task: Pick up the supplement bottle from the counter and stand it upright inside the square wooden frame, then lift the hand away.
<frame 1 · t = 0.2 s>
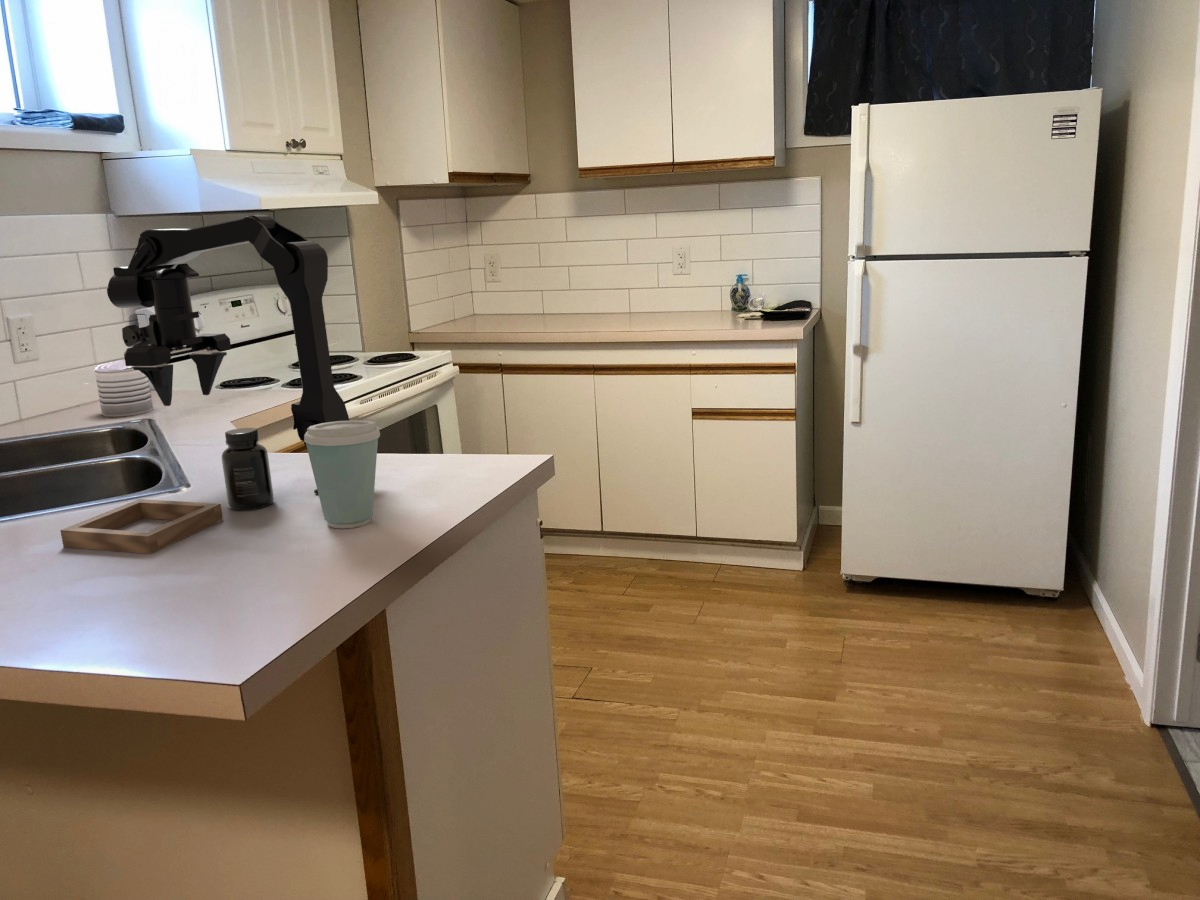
hand: (187, 400, 164), 14 cm above the countertop, fingers open, 9 cm apart
square wooden frame: (145, 532, 142), on the countertop
disposable coffee cup: (352, 523, 143), on the countertop
supplement bottle: (251, 506, 154), on the countertop
white ridged cylinder: (128, 412, 236), on the countertop
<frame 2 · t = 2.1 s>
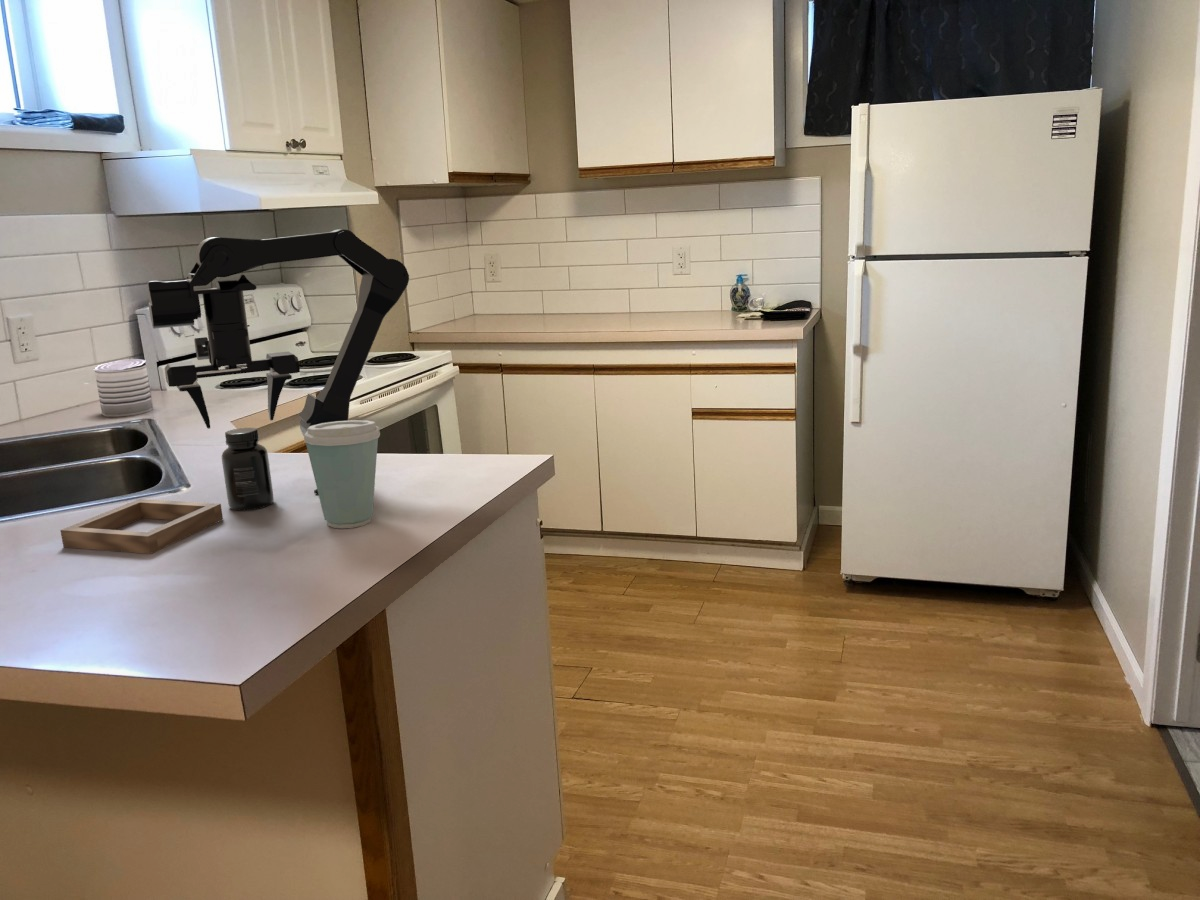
hand: (240, 424, 150), 13 cm above the countertop, fingers open, 9 cm apart
nothing on the countertop moved.
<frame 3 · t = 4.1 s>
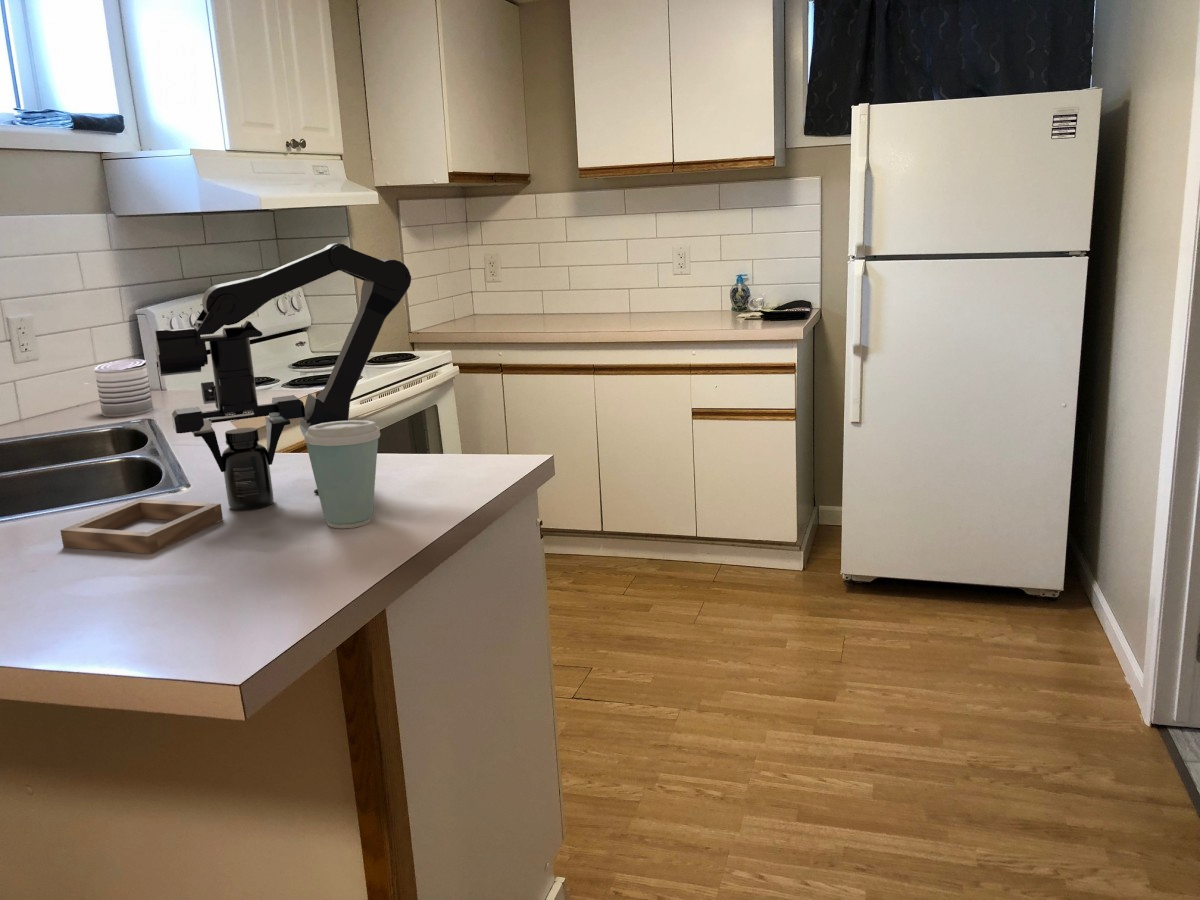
hand: (246, 467, 152), 6 cm above the countertop, fingers closed on supplement bottle, 7 cm apart
supplement bottle: (251, 506, 154), on the countertop, touching gripper
everything else where it was.
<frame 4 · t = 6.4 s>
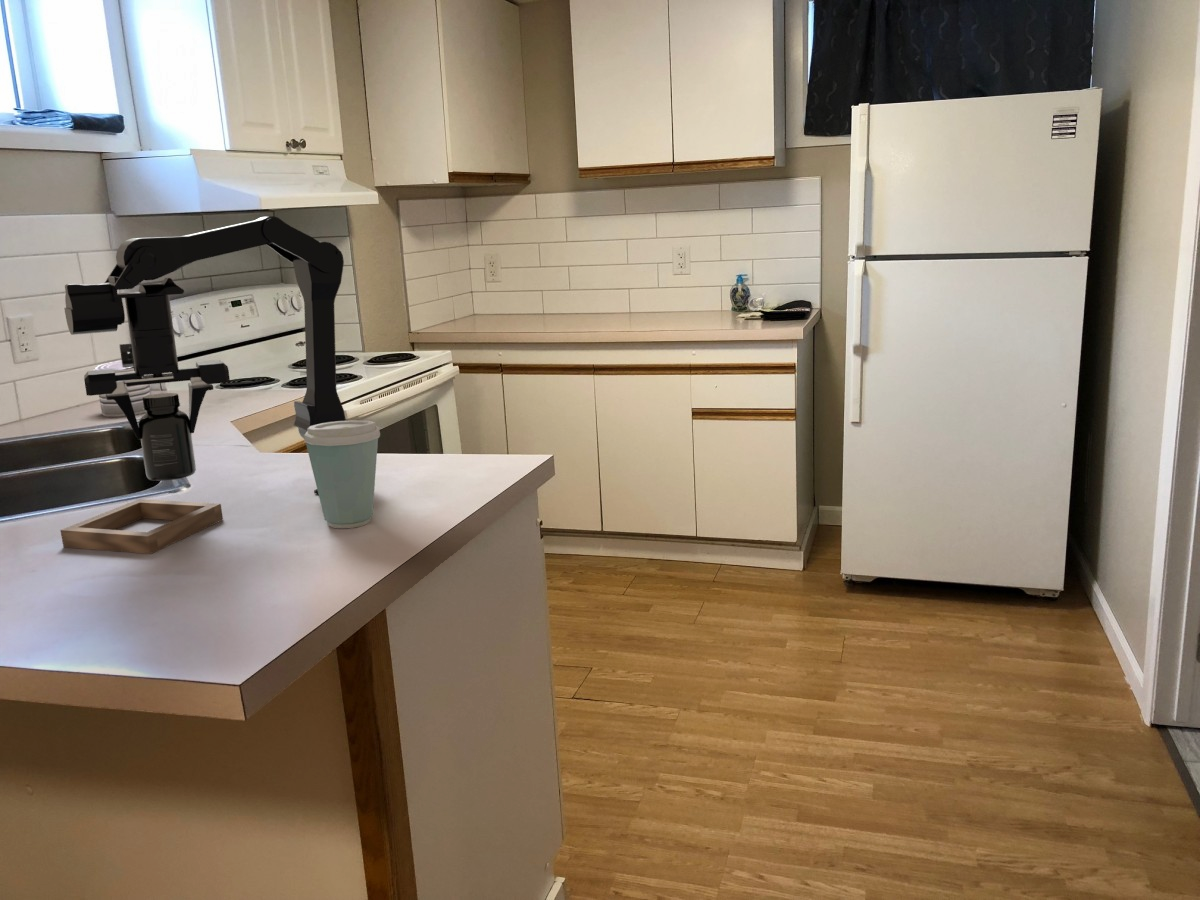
hand: (165, 435, 142), 13 cm above the countertop, fingers closed on supplement bottle, 7 cm apart
supplement bottle: (171, 477, 144), point 7 cm above the countertop, touching gripper
everything else where it was.
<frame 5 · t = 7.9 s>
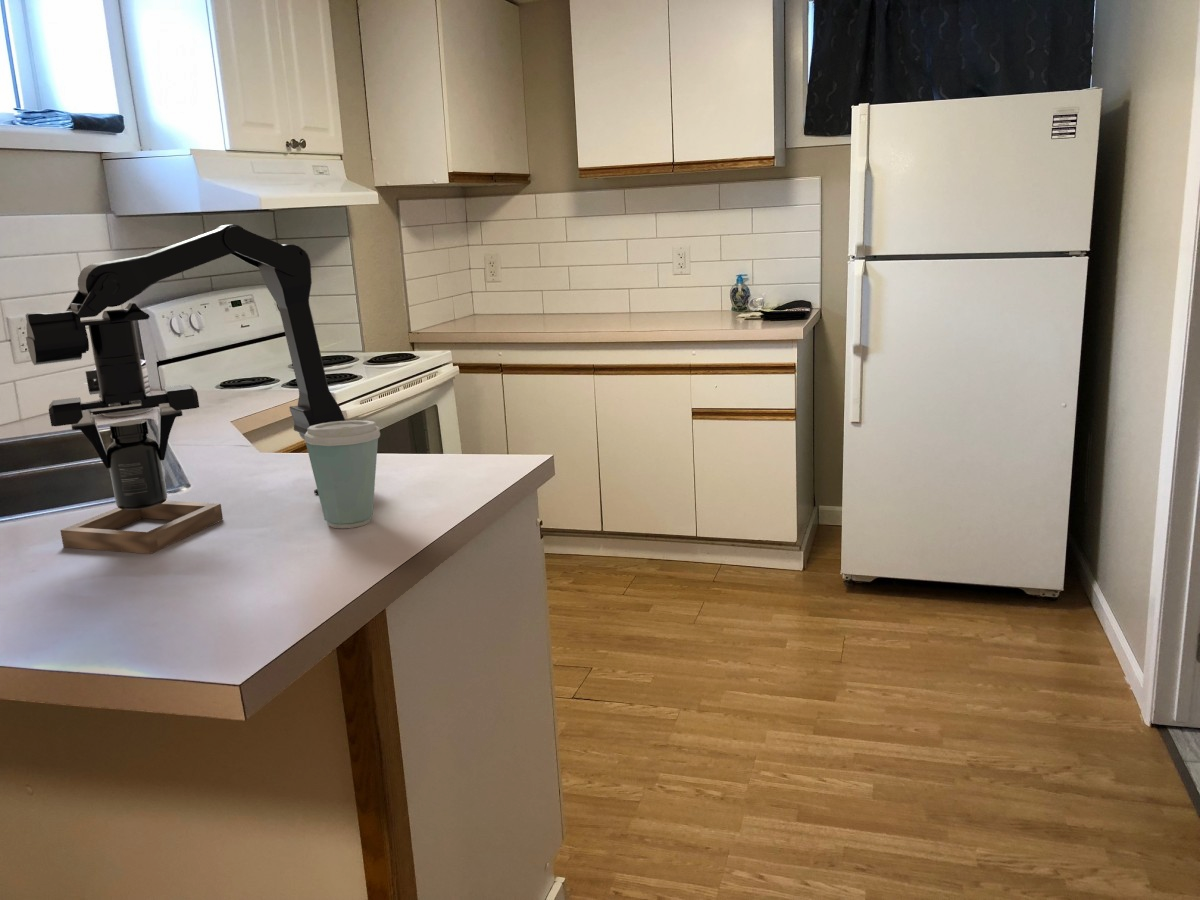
hand: (135, 463, 139), 10 cm above the countertop, fingers closed on supplement bottle, 7 cm apart
supplement bottle: (142, 505, 141), point 4 cm above the countertop, touching gripper
everything else where it was.
when the fingers open (8 cm above the countertop, at t = 9.2 s): supplement bottle drops 2 cm, resting in square wooden frame.
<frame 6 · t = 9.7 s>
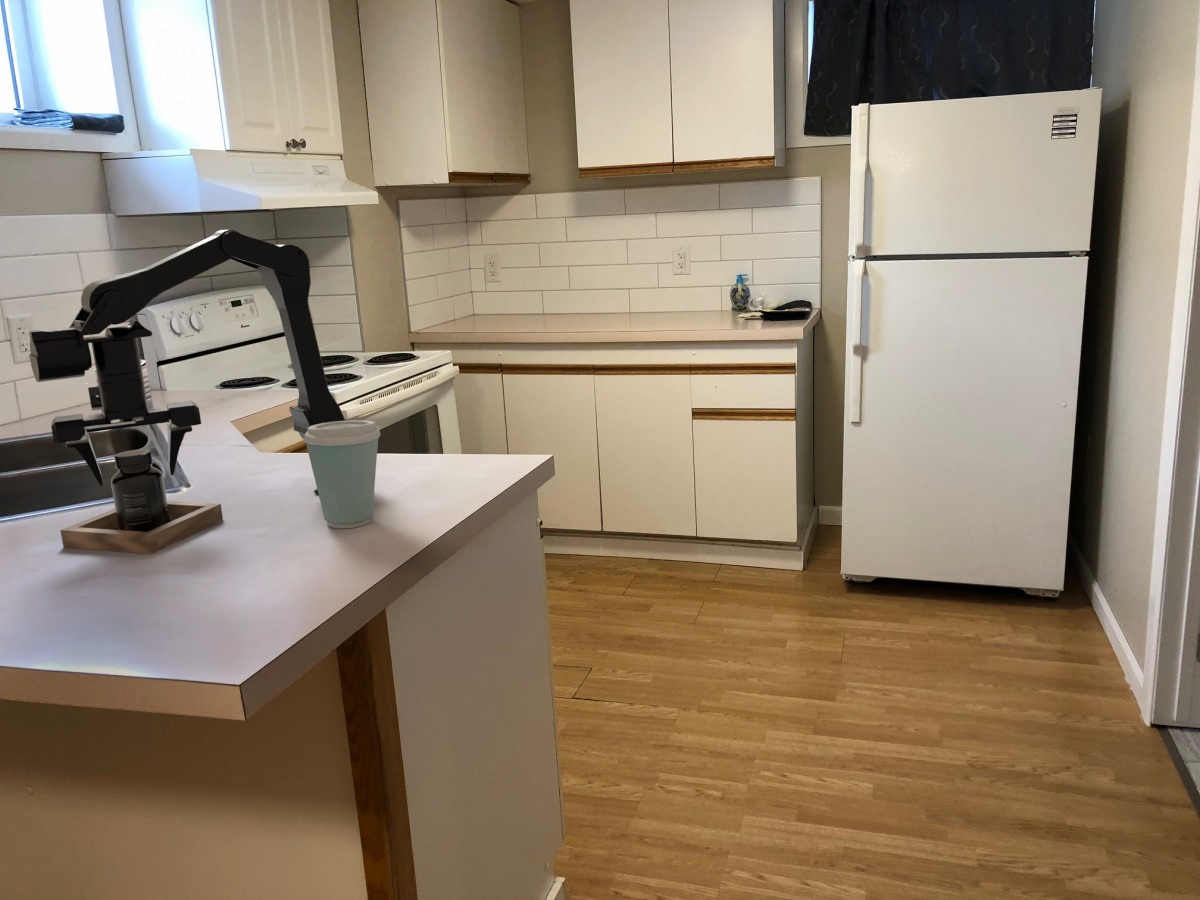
hand: (137, 479, 140), 8 cm above the countertop, fingers open, 9 cm apart
supplement bottle: (146, 534, 142), resting in square wooden frame
everything else where it was.
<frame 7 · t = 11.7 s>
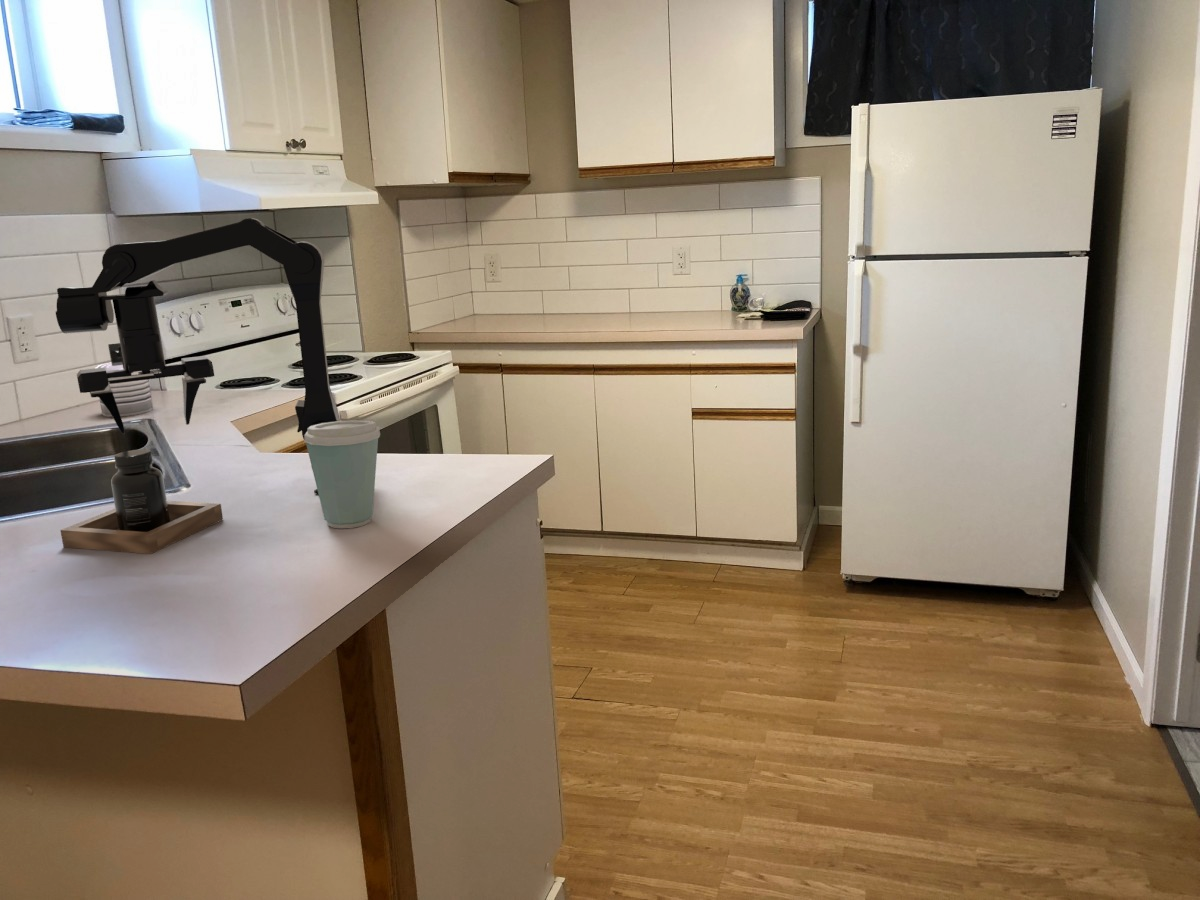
hand: (155, 428, 151), 13 cm above the countertop, fingers open, 9 cm apart
nothing on the countertop moved.
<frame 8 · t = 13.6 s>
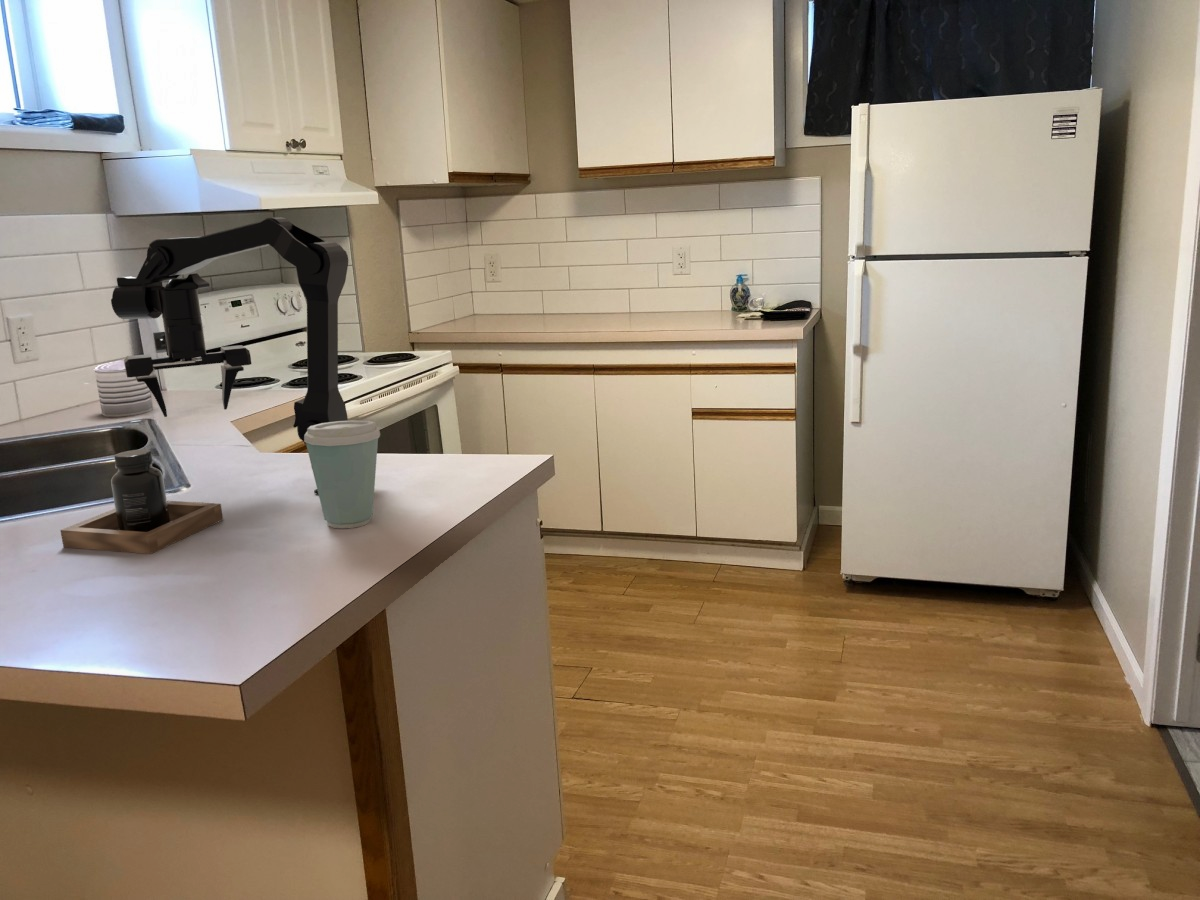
hand: (195, 412, 161), 13 cm above the countertop, fingers open, 9 cm apart
nothing on the countertop moved.
at the end: supplement bottle 0.0 cm off-centre on the square wooden frame, point 0.0 cm above the square wooden frame's base; supplement bottle tilted 0°; the gripper is holding nothing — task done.
